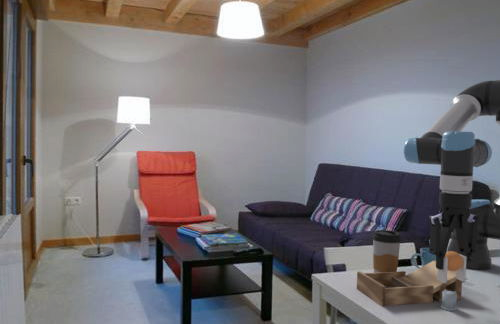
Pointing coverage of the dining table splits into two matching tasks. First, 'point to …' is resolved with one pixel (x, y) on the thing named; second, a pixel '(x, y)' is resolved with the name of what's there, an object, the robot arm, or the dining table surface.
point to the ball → (454, 261)
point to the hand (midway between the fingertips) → (451, 280)
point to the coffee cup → (385, 250)
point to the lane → (407, 285)
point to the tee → (449, 300)
